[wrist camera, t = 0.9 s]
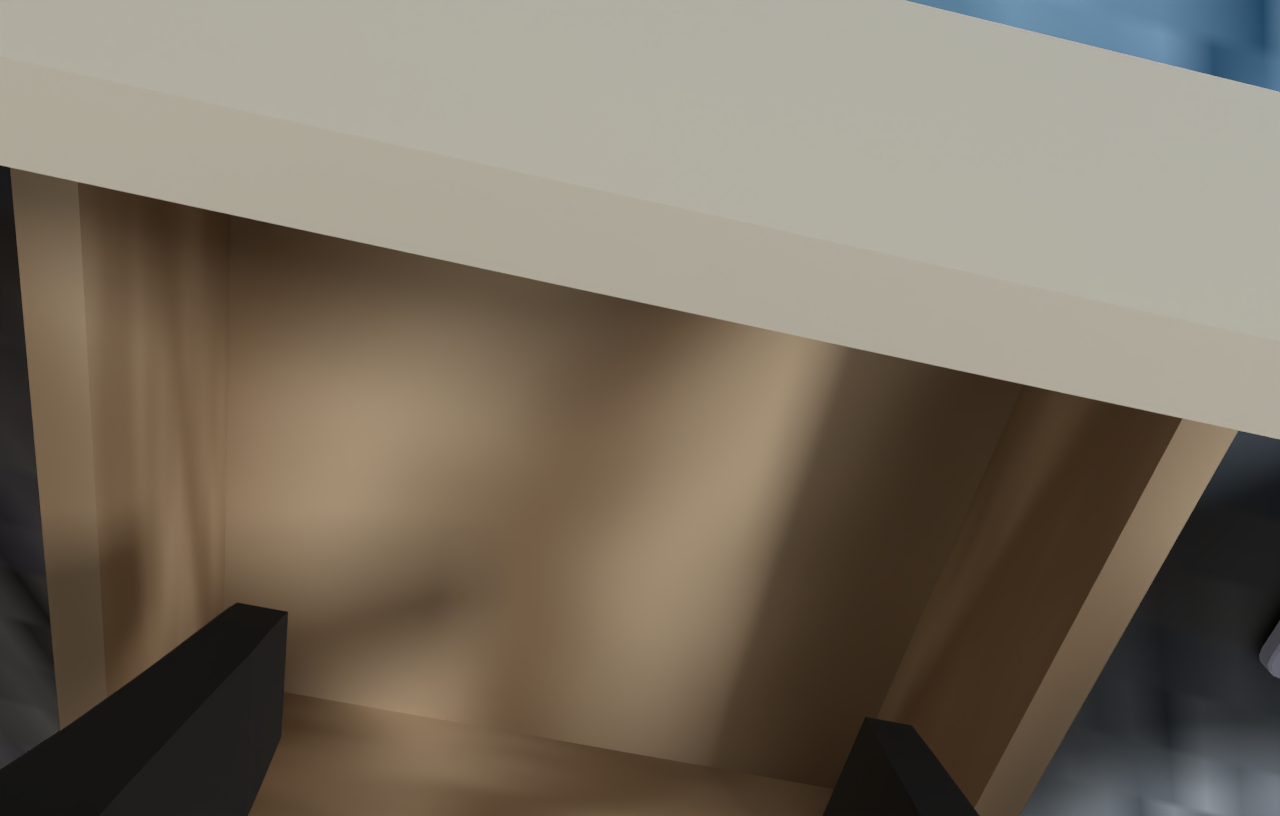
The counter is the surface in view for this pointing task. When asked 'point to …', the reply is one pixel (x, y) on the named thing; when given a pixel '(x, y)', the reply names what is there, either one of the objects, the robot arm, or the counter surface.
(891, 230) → the flap
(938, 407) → the kraft box
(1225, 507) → the counter surface
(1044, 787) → the counter surface
